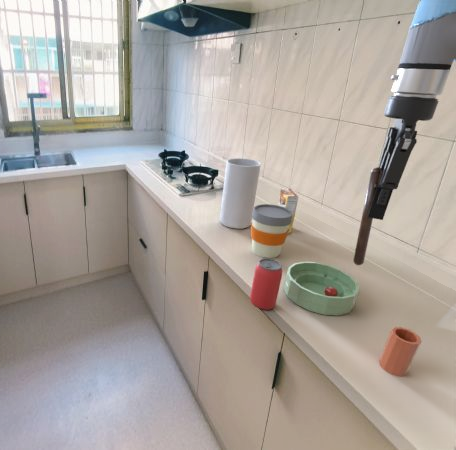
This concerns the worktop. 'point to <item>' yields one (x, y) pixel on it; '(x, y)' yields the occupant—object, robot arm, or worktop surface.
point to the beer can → (266, 284)
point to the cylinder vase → (239, 192)
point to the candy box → (288, 203)
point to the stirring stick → (365, 221)
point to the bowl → (320, 288)
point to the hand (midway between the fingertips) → (374, 215)
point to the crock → (399, 351)
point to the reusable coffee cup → (269, 229)
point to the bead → (331, 291)
